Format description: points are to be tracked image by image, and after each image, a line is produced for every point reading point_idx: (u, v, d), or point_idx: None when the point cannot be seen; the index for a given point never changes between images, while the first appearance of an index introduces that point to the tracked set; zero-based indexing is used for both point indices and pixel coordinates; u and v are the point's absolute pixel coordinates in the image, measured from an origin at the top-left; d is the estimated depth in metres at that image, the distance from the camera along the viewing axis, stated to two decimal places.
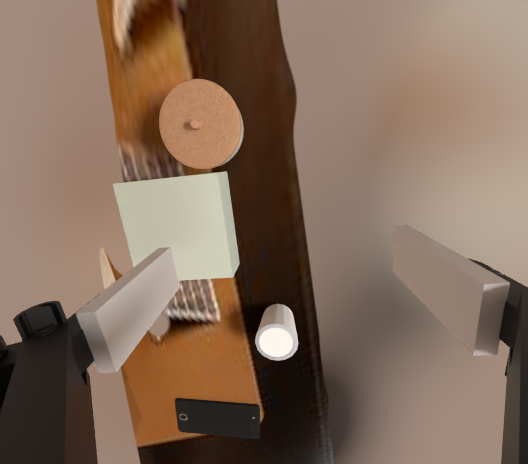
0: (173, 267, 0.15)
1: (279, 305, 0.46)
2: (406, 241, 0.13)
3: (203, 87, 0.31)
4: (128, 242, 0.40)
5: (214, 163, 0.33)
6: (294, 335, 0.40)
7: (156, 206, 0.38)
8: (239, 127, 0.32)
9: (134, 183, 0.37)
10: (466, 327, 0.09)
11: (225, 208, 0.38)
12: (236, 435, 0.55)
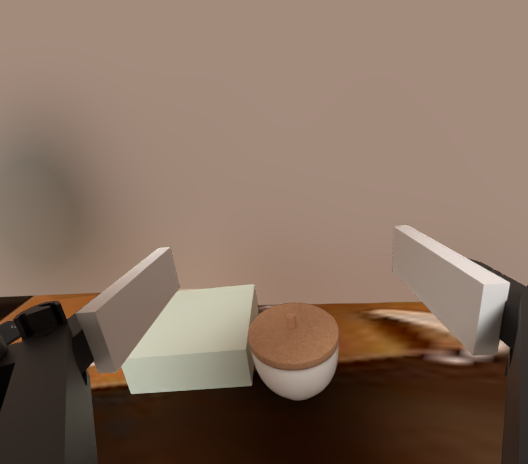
0: (173, 267, 0.15)
1: None
2: (406, 241, 0.13)
3: (330, 332, 0.28)
4: (205, 289, 0.46)
5: (251, 337, 0.29)
6: None
7: (227, 305, 0.40)
8: (287, 362, 0.25)
9: (251, 294, 0.43)
10: (466, 327, 0.09)
11: (204, 362, 0.31)
12: None
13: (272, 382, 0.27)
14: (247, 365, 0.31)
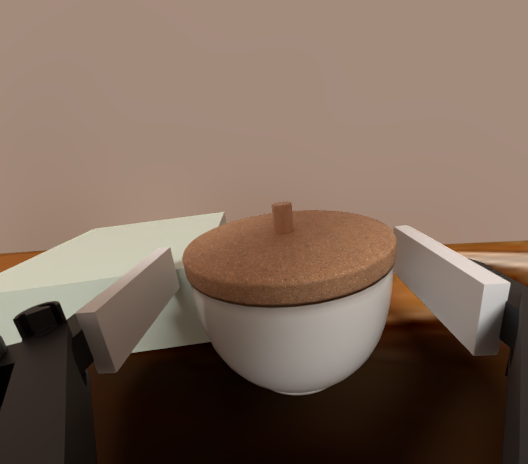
0: (173, 267, 0.15)
1: None
2: (406, 241, 0.13)
3: (374, 232, 0.12)
4: None
5: (189, 250, 0.13)
6: None
7: (179, 229, 0.25)
8: (263, 282, 0.09)
9: (219, 218, 0.28)
10: (466, 327, 0.09)
11: None
12: None
13: (230, 347, 0.11)
14: None
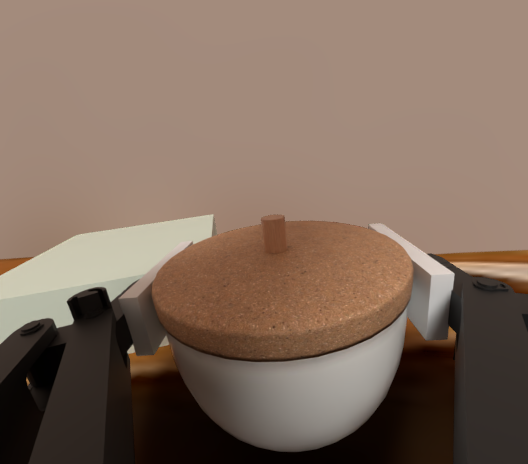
0: None
1: None
2: None
3: (384, 253, 0.10)
4: (137, 226, 0.31)
5: (162, 274, 0.11)
6: None
7: (173, 232, 0.26)
8: (245, 330, 0.07)
9: (210, 220, 0.29)
10: (420, 315, 0.10)
11: None
12: None
13: (207, 401, 0.08)
14: None
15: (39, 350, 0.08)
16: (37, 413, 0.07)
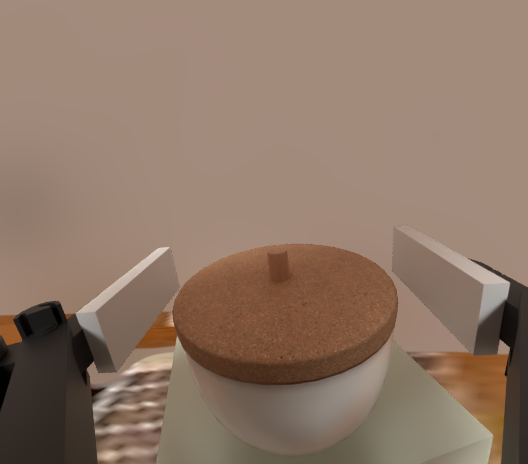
0: (173, 267, 0.15)
1: None
2: (406, 241, 0.13)
3: (373, 284, 0.11)
4: None
5: (180, 301, 0.12)
6: None
7: None
8: (258, 360, 0.08)
9: None
10: (466, 327, 0.09)
11: None
12: None
13: (223, 414, 0.10)
14: None
15: None
16: None
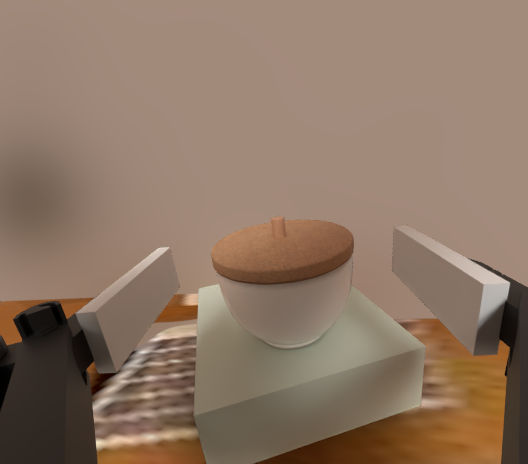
0: (173, 267, 0.15)
1: None
2: (406, 241, 0.13)
3: (339, 235, 0.18)
4: None
5: (215, 252, 0.19)
6: None
7: None
8: (271, 269, 0.15)
9: None
10: (466, 327, 0.09)
11: (356, 384, 0.17)
12: None
13: (249, 313, 0.16)
14: (421, 373, 0.18)
15: None
16: None
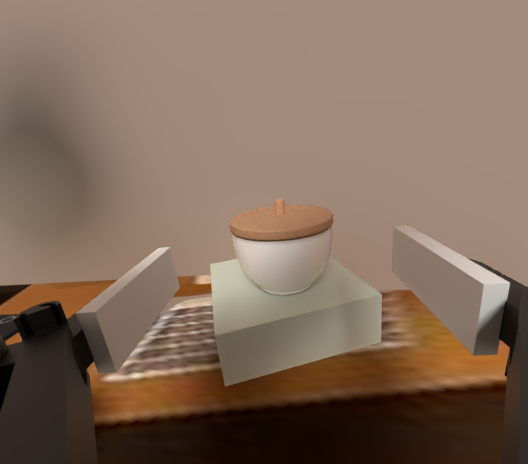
0: (173, 267, 0.15)
1: None
2: (406, 241, 0.13)
3: (323, 213, 0.25)
4: None
5: (233, 222, 0.26)
6: None
7: None
8: (275, 230, 0.22)
9: None
10: (466, 327, 0.09)
11: (330, 321, 0.24)
12: None
13: (257, 264, 0.23)
14: (380, 316, 0.25)
15: None
16: None
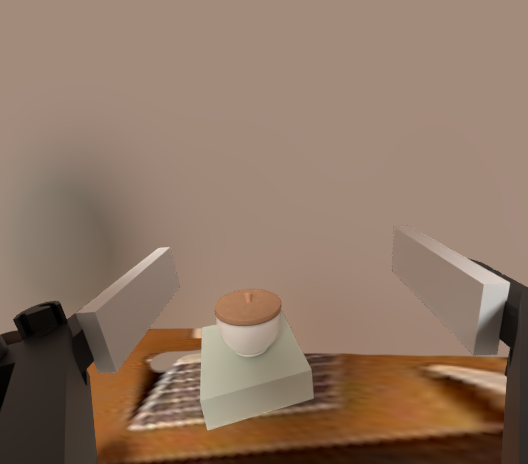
0: (173, 267, 0.15)
1: None
2: (406, 241, 0.13)
3: (275, 301, 0.41)
4: None
5: (218, 311, 0.39)
6: None
7: None
8: (249, 319, 0.36)
9: (284, 319, 0.49)
10: (466, 327, 0.09)
11: (277, 387, 0.36)
12: None
13: (237, 339, 0.37)
14: (311, 382, 0.38)
15: None
16: None
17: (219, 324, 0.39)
